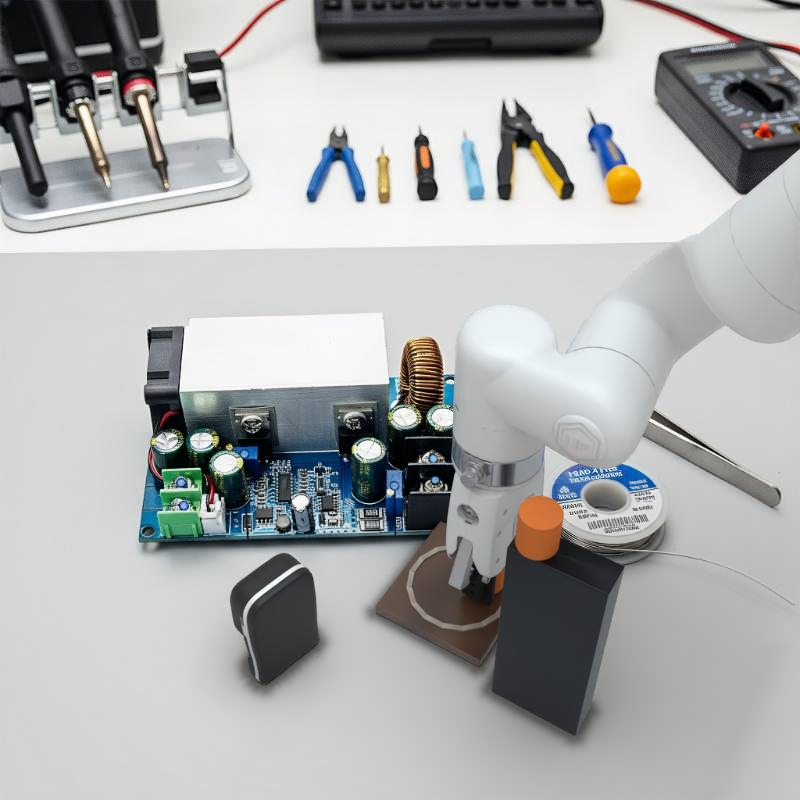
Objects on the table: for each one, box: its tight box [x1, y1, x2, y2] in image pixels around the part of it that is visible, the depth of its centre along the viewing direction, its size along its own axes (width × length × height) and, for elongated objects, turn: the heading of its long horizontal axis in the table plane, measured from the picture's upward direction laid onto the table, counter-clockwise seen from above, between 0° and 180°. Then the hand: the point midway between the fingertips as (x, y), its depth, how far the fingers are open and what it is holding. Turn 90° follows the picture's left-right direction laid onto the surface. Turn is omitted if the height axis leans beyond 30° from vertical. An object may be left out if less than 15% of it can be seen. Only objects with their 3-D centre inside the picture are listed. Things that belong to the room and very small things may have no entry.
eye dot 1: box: [473, 561, 505, 594], centre depth 92 cm, size 3×3×4 cm
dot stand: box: [491, 535, 626, 736], centre depth 79 cm, size 8×3×20 cm, turn 58°
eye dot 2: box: [515, 495, 565, 561], centre depth 71 cm, size 3×3×4 cm
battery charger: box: [229, 552, 320, 685], centre depth 85 cm, size 7×4×11 cm, turn 134°
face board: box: [375, 521, 503, 668], centre depth 93 cm, size 11×12×1 cm
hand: (487, 581), depth 93 cm, fingers closed on eye dot 1, 3 cm apart
